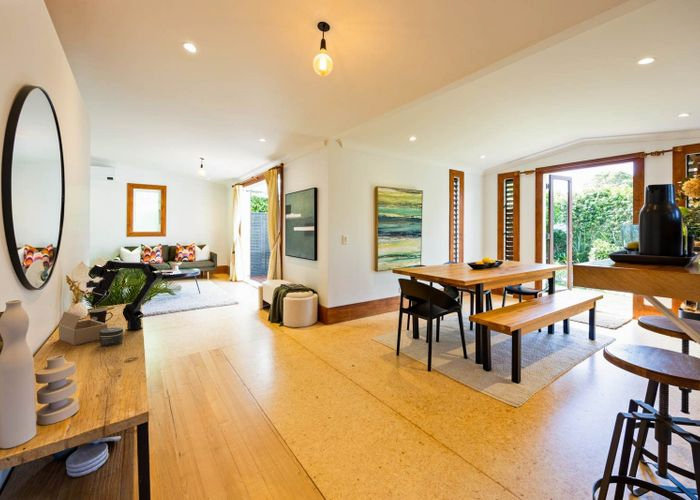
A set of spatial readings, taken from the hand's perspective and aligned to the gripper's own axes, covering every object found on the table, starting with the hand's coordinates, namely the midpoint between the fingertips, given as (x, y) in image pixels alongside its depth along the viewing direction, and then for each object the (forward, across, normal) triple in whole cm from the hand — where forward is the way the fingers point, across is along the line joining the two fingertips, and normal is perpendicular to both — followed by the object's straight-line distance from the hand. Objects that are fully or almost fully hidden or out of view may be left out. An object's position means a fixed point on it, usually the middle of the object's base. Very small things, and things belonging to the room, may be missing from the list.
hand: (94, 305), depth 181 cm
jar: (+14, +25, +19) cm, 34 cm away
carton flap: (+12, +15, -4) cm, 20 cm away
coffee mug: (+12, -14, +6) cm, 19 cm away
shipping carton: (+17, +10, +4) cm, 20 cm away
